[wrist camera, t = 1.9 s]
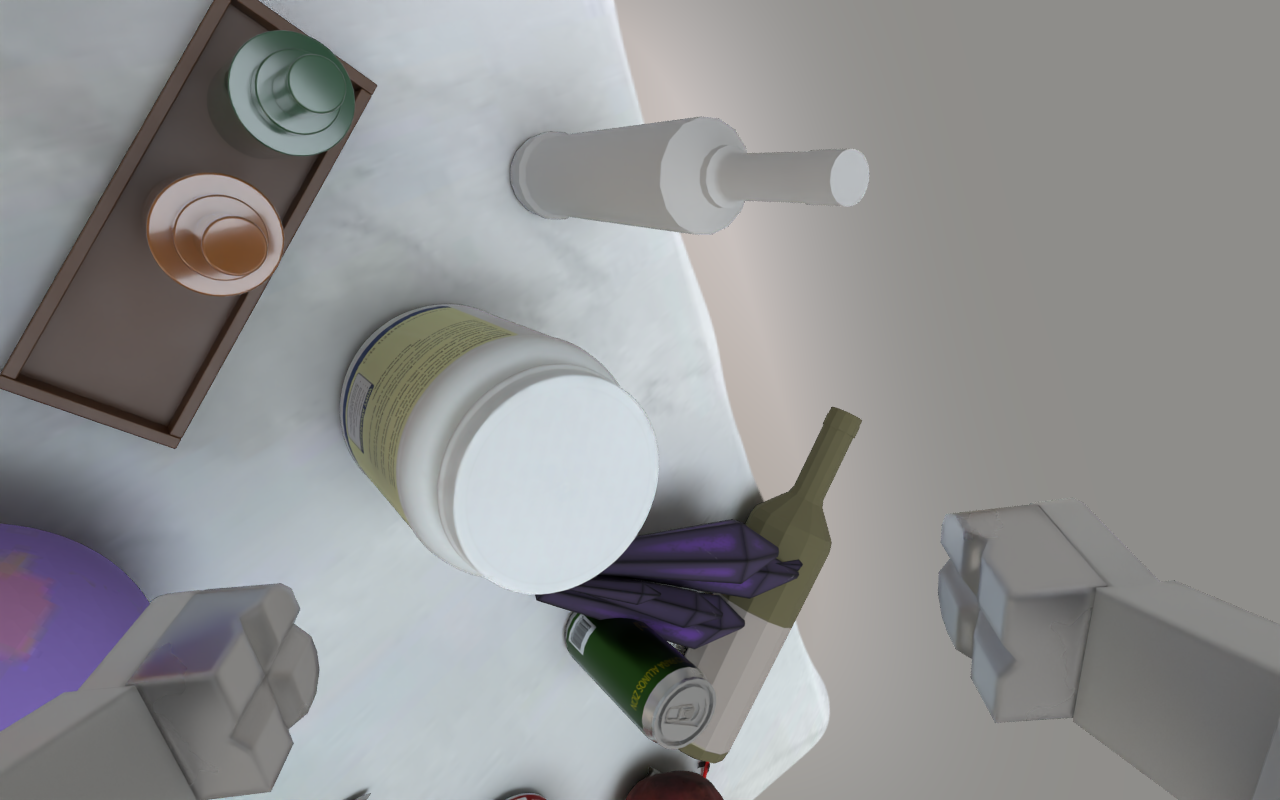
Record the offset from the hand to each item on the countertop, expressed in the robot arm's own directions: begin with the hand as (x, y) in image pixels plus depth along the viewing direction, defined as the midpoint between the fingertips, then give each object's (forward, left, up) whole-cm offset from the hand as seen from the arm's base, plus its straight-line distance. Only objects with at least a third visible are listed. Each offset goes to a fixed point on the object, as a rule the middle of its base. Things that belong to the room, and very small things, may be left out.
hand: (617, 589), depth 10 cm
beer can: (+33, -12, -38) cm, 52 cm away
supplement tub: (+13, -1, -38) cm, 40 cm away
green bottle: (-3, +8, -38) cm, 38 cm away
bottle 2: (+45, -18, -35) cm, 60 cm away
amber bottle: (-3, +1, -38) cm, 38 cm away
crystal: (+25, -9, -36) cm, 45 cm away
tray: (-3, +1, -38) cm, 38 cm away
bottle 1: (+12, +14, -38) cm, 42 cm away
